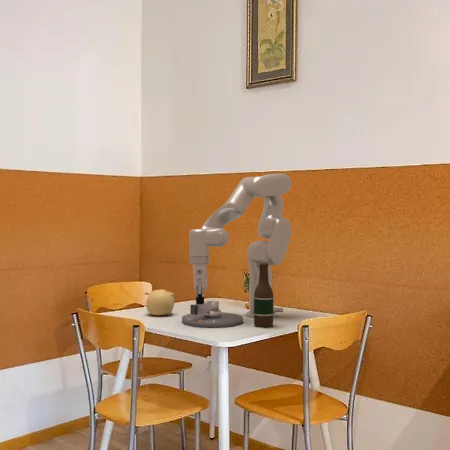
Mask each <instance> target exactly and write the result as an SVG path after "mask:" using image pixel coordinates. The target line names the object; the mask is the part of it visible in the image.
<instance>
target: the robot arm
mask: <svg viewBox="0 0 450 450" xmlns="http://www.w3.org/2000/svg"><path fill="white" fill-rule="evenodd" d="M291 188H292V180H291V177H290V176H289V175H288V174H285V173H270V174H264V175H261V176H260V175H259V176H258V175H257V176H247V177H244V178H242V179H241V180H240V181H239V182H238V184H237V185H236V186H235V188H234V189H233V192H232V193H231V195H230V196H229V197H228V199H227V200H226V201H225V203H224V204H223V205H221V206H219V208H217V210H215V211H214V212H213V213H212V214H211V215H210V216H209V217H208V218H207V219H206V220H205V222H204V224H203V225H202V226H201V228H193V229H190V230H189V232H188V233H189V234H188V237H189V239H188V240H189V241H188V243H189V245H188V246H189V265H191V266H192V275H193V276H192V277H193V287H194V291H195V292H196V293H195V294H196V296H195V304H199V303H205V296H204V291H207V290H208V269H207V266H208V265H209V264H210V256H209V255H210V251H209V250H210V249H209V248H210V247H216V248H220V247H223V246H225V245H227V244H228V242H229V240H230V236H229V235H230V234H229V233H228V231H227V230H226V229H224V228H223V227H225V226H226V225H227V224H229V223H231V222H233V221H235V220H237V219H239V218H240V217H241V218H242V216H243V215H244V213H246V210H248V208H249V206H250V204H251V203H252V201H253V200H254V199H255V198H262V200H263V207H262V211H261V215H260V218H259V221H258V225H257V234H258V236H259V237H260V238H261V239H264V240H257V241H253V242H251V243H250V244H249V246H248V248H247V253H246V254H247V256H246V257H247V261H248V271H249V273H248V274H249V276H248V277H249V280H248V281H249V282H248V283H249V284H248V285H249V293H248V294H249V295H248V296H249V297H248V299H249V300H248V301H249V303H248V305H249V306H248V307H249V309H248V310H249V311H248V312H246V313H245V317H248V318H251V319H254V292H255V289H256V287H257V285H258V283H259V273H260V266H259V264H260V263H268V280H269V285H270V287H271V288H272V289H273V272H272V268H271V266H277V265H280V264H281V263H282V262H283V260H284V259H285V256H286V254H287V250H288V247H289V244H290V241H291V236H292V224H291V222H290V220H289V219H288V218H286V217H284V216H283V213H284V208H285V204H284V200H283V197H282V196H281V195H285V194H286V193H288V192H290V190H291ZM283 312H284V307H278V306H277V307H276V306H274V305H273V318H274V317H275V318H276V316H277V313H283Z"/></svg>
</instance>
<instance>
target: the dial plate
mask: <svg viewBox="0 0 450 450" xmlns="http://www.w3.org/2000/svg"><path fill="white" fill-rule="evenodd" d="M243 323H244V317H243V315H241V314H237V313H232V312H223V311H221V317H218V318H207V317H204V313H202V314H197V315H192V314H190V313H187V314H184V315H182V316H181V324H183V325H185V326H188V327H193V328H203V329H204V328H205V329H217V328H218V329H219V328H220V329H221V328H232V327H238V326H240V325H242V324H243Z"/></svg>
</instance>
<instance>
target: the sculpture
mask: <svg viewBox="0 0 450 450" xmlns="http://www.w3.org/2000/svg"><path fill="white" fill-rule="evenodd" d="M145 306H146V310H147V312H148V314H149V315H153V316H166V315H170V314H172V312H173V310H174V307H175V293H174V292H170V291H169V290H166V289H164V288H163V289H161V288H160V289H154V290H152V291H150V292H148V297H147V299H146V303H145Z"/></svg>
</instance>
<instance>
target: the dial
mask: <svg viewBox="0 0 450 450" xmlns="http://www.w3.org/2000/svg"><path fill="white" fill-rule="evenodd" d="M189 307H190V309H189V310H190V313H189V314H192V315H197V314H202V313H204V317H207V318H218V317H221V312H222V310H221V309H220V302H219V301H218V300H208V301H204V303H199V304H196V303H195V304H190V306H189Z"/></svg>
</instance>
